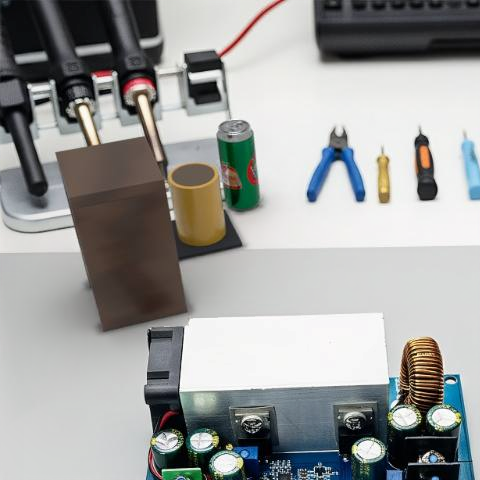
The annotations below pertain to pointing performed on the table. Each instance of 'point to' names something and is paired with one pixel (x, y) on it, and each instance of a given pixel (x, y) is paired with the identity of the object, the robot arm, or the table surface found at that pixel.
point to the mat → (225, 243)
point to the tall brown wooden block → (124, 231)
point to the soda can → (238, 164)
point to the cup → (197, 203)
